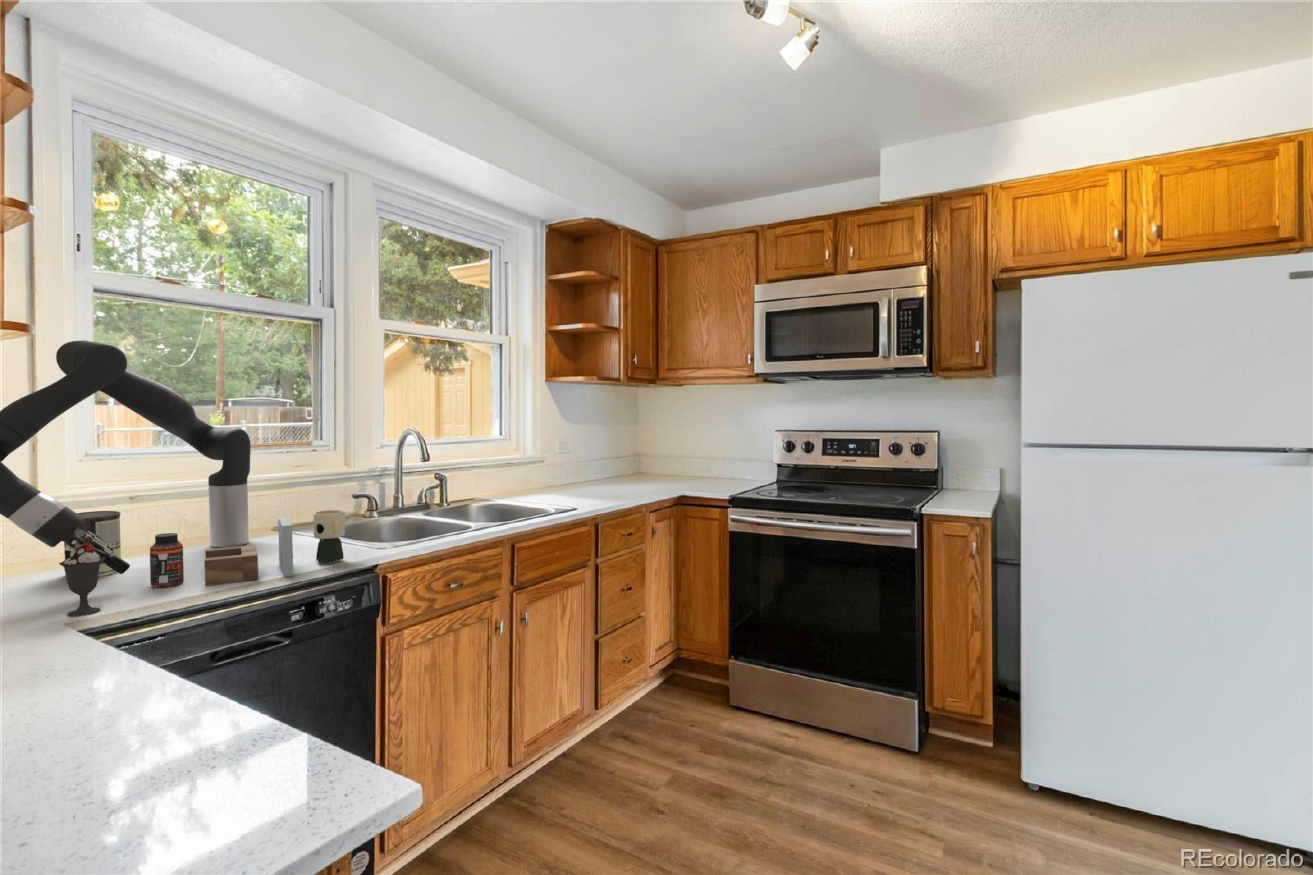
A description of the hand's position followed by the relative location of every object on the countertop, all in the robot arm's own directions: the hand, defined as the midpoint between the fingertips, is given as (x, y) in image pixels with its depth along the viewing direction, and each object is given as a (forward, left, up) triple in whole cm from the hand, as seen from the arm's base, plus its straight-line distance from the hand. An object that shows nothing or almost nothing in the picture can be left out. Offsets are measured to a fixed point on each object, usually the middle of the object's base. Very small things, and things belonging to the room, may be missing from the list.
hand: (126, 570), depth 140 cm
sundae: (+15, -5, -4) cm, 17 cm away
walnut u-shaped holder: (0, +19, -4) cm, 20 cm away
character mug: (-3, +40, -4) cm, 40 cm away
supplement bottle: (0, +7, -4) cm, 8 cm away
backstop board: (0, +30, -4) cm, 30 cm away
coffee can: (-21, -8, -4) cm, 23 cm away
